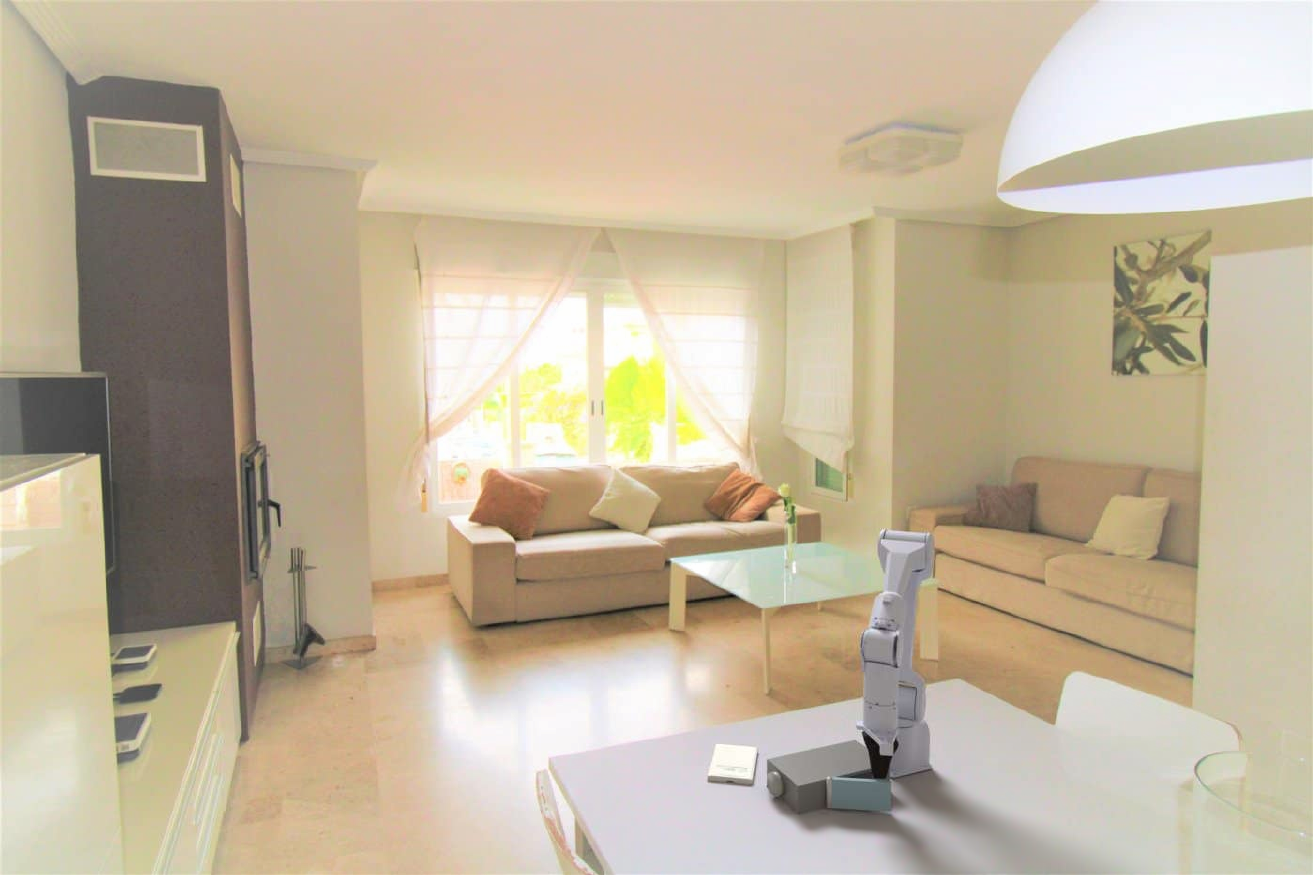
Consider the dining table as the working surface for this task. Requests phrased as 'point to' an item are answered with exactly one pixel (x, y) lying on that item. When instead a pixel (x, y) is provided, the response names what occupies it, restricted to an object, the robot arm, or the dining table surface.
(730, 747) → the external hard drive
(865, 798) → the side door
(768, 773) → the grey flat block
